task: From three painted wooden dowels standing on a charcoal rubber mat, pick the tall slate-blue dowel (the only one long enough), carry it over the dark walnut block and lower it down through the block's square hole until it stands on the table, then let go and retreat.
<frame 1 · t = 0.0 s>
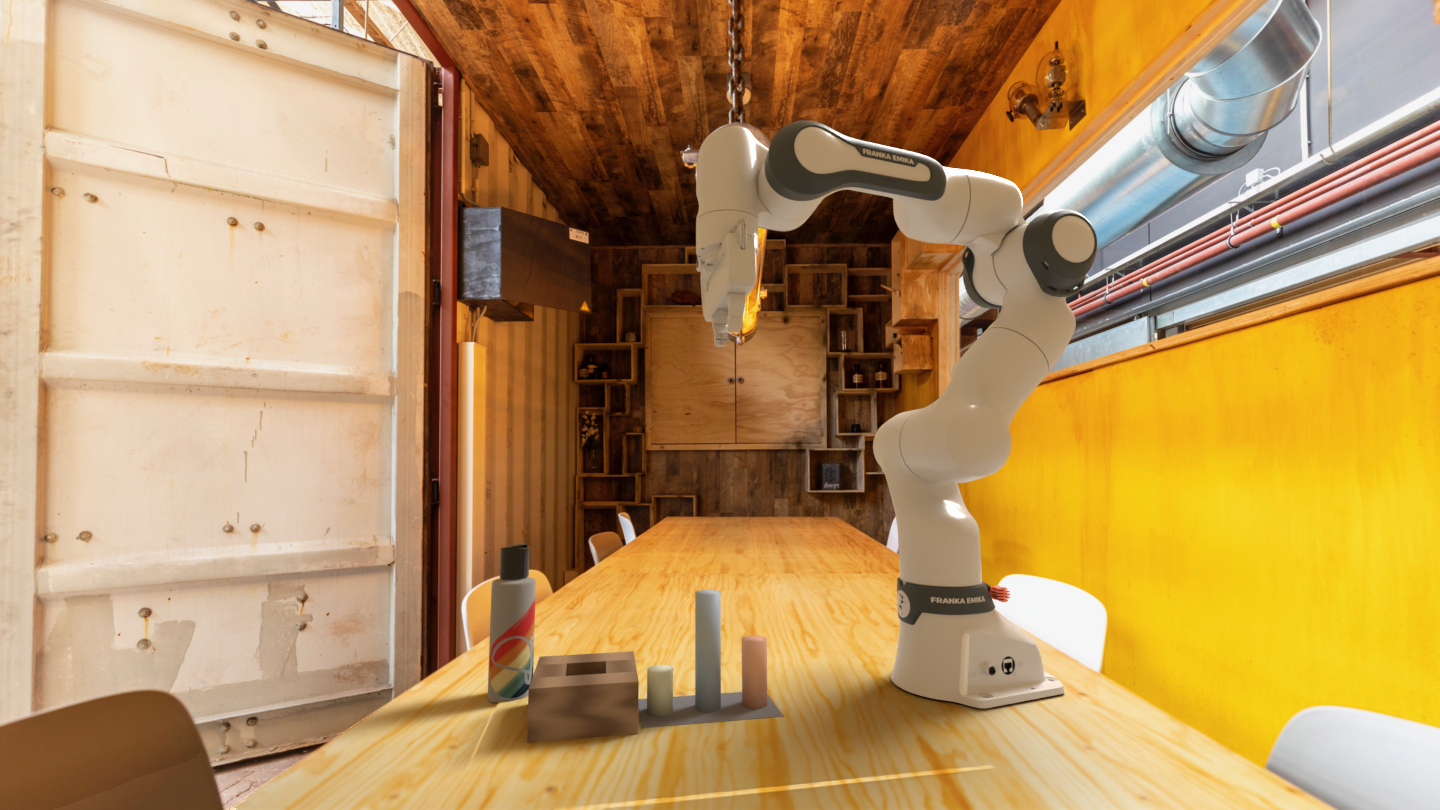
hand: (727, 339, 85), 48 cm above the table, fingers open, 8 cm apart
lotion bottle: (510, 697, 81), on the table
mat: (708, 710, 76), on the table
socket block: (584, 720, 74), on the table
pin medium: (754, 703, 77), resting on mat
pin long: (708, 707, 76), resting on mat
pin short: (659, 711, 75), resting on mat
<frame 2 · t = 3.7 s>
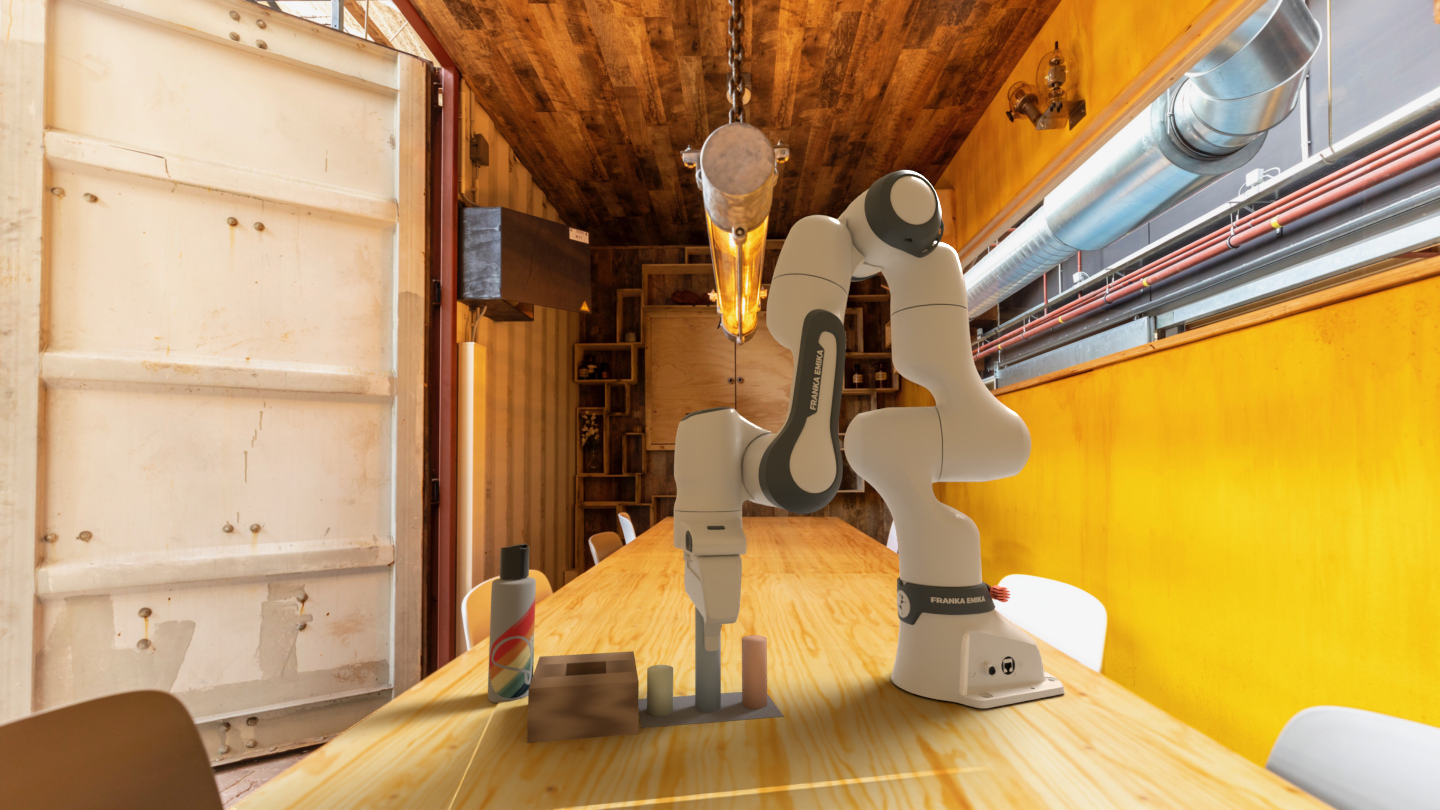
hand: (708, 644, 77), 8 cm above the table, fingers closed on pin long, 3 cm apart
pin long: (708, 707, 76), resting on mat, touching gripper
everything else where it was.
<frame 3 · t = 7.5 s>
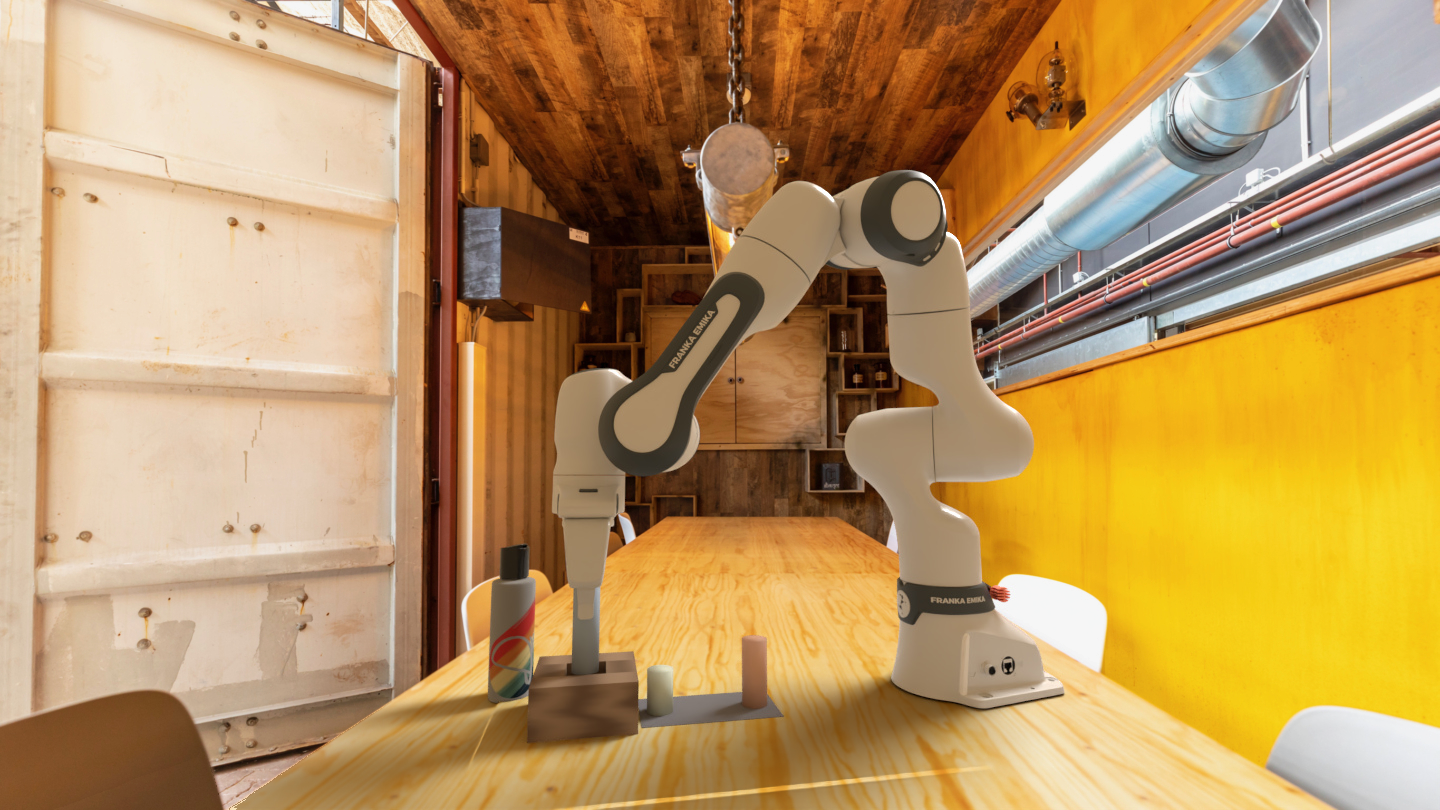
hand: (585, 613, 74), 12 cm above the table, fingers closed on pin long, 3 cm apart
pin long: (585, 671, 73), point 6 cm above the table, touching gripper, socket block
everything else where it was.
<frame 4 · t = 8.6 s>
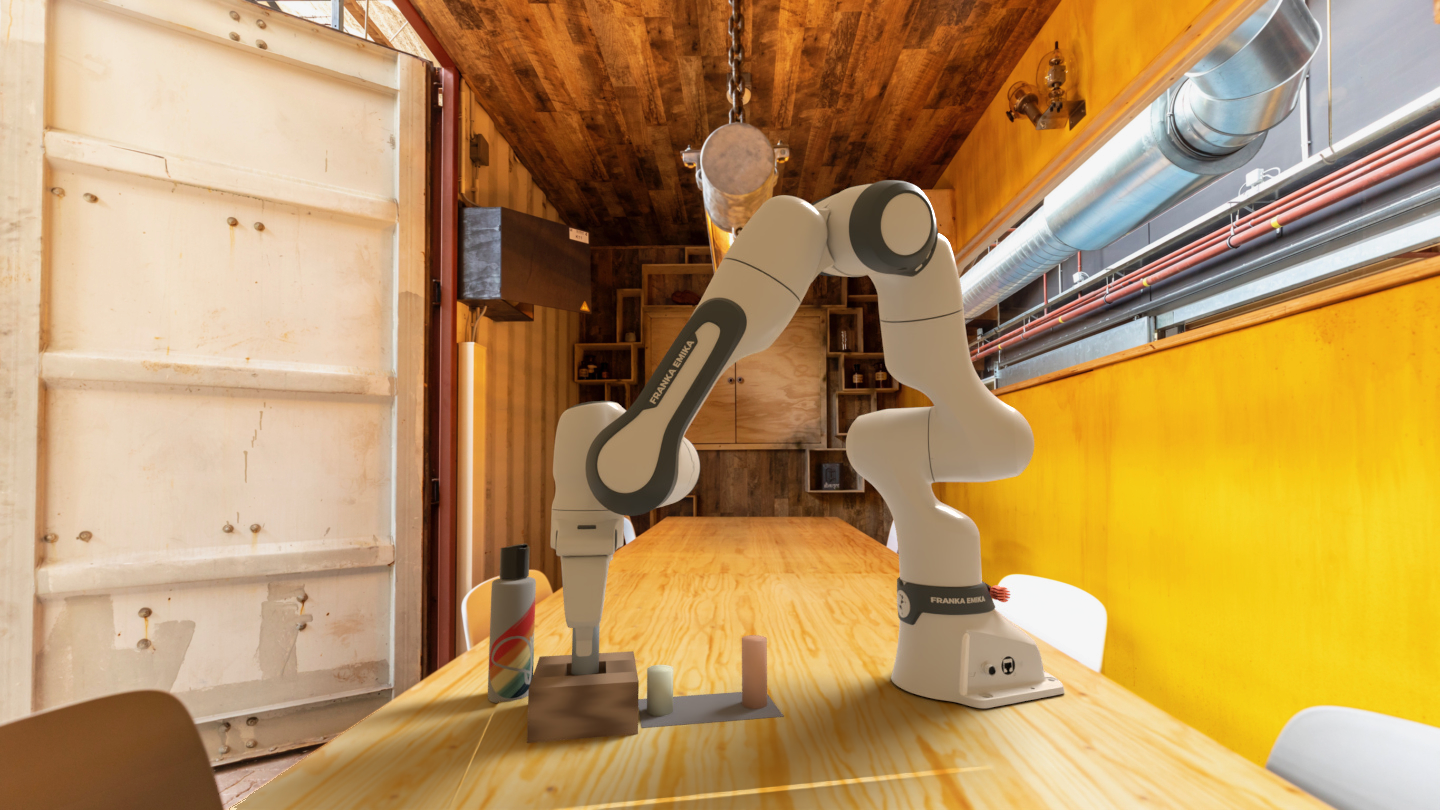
hand: (584, 648, 74), 8 cm above the table, fingers closed on pin long, 4 cm apart
pin long: (585, 672, 73), point 6 cm above the table, tilted 8°, touching arm, gripper, socket block
everything else where it was.
when the fingers open (8 cm above the table, at t = 9.2 s): pin long drops 6 cm, resting in socket block.
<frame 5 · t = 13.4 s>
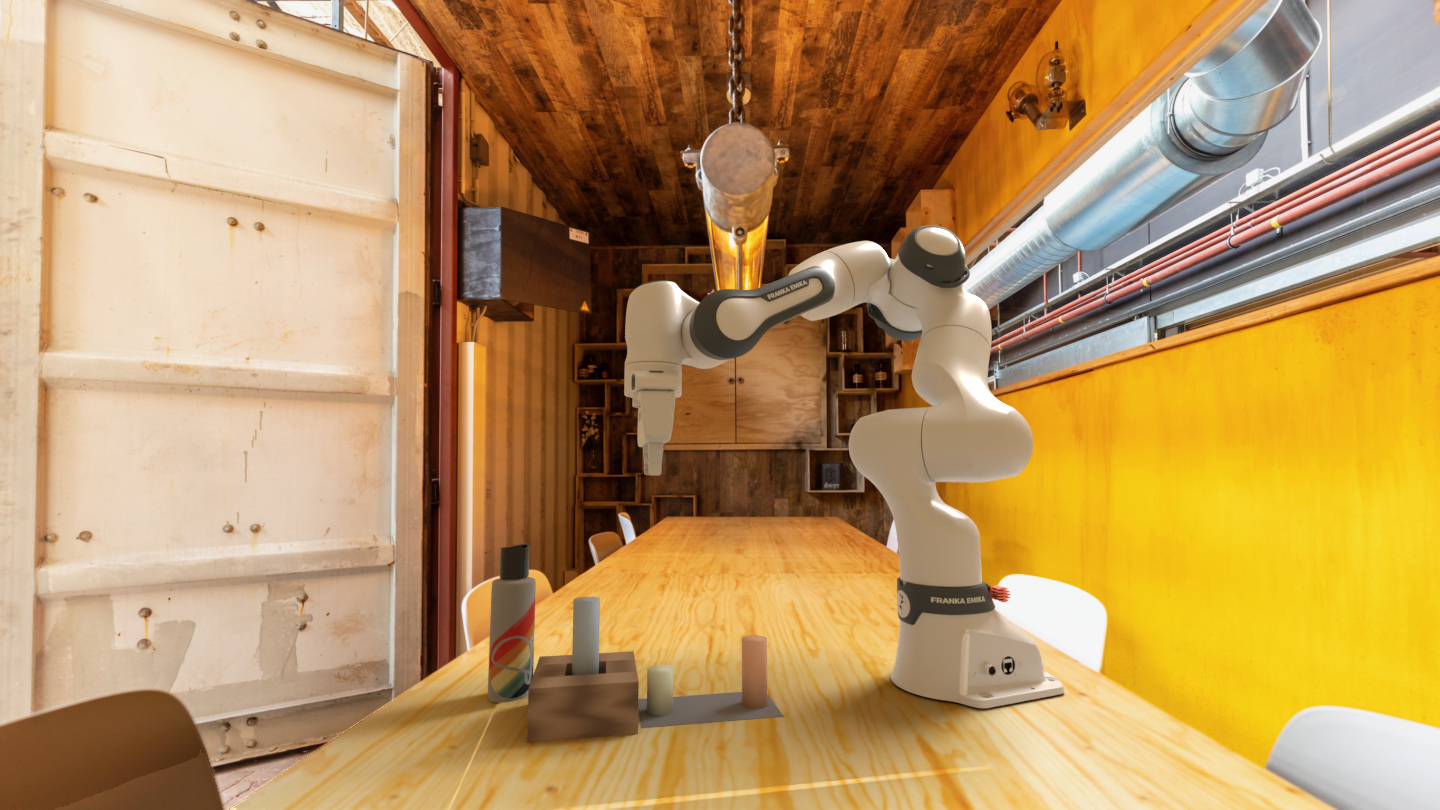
hand: (652, 475, 93), 29 cm above the table, fingers open, 8 cm apart
pin long: (584, 718, 74), resting in socket block
everything else where it was.
at the end: pin long 0.7 cm off-centre on the socket block, point 0.0 cm above the socket block's base; pin long tilted 0°; the gripper is holding nothing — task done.
